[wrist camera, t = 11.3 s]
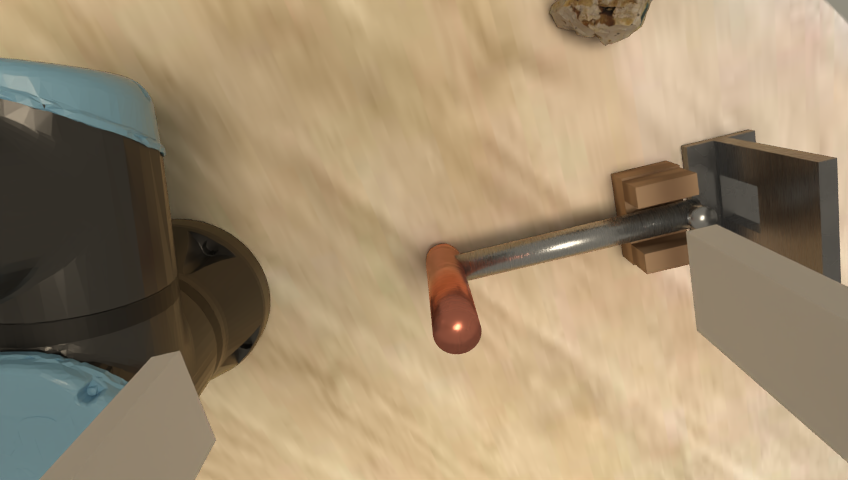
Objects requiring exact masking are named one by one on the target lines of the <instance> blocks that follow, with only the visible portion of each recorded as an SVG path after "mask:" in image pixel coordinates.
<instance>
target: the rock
mask: <svg viewBox="0 0 848 480" xmlns="http://www.w3.org/2000/svg"><path fill="white" fill-rule="evenodd" d="M651 1H652V0H557V1H556V3H554V4H553V5H552V7H551V10H550V14H551V15H552V16H553V19H554V22H555V23H556V25H557V27H558V28H563V29H566V30H575V32H576V34H577V35H579V36H583V37H594V36H597V37H598V38H599V39H600V41H601V42H602V43H603V44H604V45H608V44H613V43H615V42H618V41H620V40H622V39H625V38H627V37H629V36H630V35H631V34H632V33H633V32H635V31H636V30H638V29H639V28H640V27H642V25H643V23H644V20H645V17H646V14H647V11H648V9H649V6H650V3H651Z"/></svg>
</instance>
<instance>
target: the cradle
mask: <svg viewBox="0 0 848 480" xmlns="http://www.w3.org/2000/svg"><path fill="white" fill-rule="evenodd" d="M611 177H612V184H613V191H614V198H615V205H616V211H617V216H622V215H626V214H630V213H634V212H638V211H643V210H647V209H651V208H655V207H659V206H664V205H668V204H672V203H676V202H680V201H683V198H687V197H691V196H695V195H699V188H698V178H697V173H695V172H692V171H689V170H686V169H683V168H680V167H679V165H677V164H674V163H671V162H668V161H663V162H659V163H654V164H650V165H646V166H642V167H638V168H634V169H630V170H625V171H621V172H617V173H613V174H611ZM686 231H687V230H686V229H685V230H681V231H676V232H672V233H668V234H664V235H659V236H655V237H651V238H647V239H643V240H638V241H634V242H630V243H626V244H621V246H622V252H623V256H624V257H625V258H626V259H627V260H628V261H630V262H631V263H632V264H633V265H637V266H638V267H639V268H640V269H642V270H643V271H644V272H645V273H646V274H650V273H654V272H658V271H663V270H667V269H671V268H676V267H680V266H684V265H688V264H689V255H688V246H687V237H686Z"/></svg>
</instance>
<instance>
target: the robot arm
mask: <svg viewBox="0 0 848 480" xmlns="http://www.w3.org/2000/svg"><path fill="white" fill-rule="evenodd" d="M165 156H166V151H165V147H164V146H163V145H162V144H161V142H160V137H159V131H158V125H157V120H156V114H155V109H154V104H153V101H152V99H151V97H150V95H149V94H148V92H147V91H146V90H145V89H144V88H143V87H142V86H141V85H140V84H139V83H137V82H135V81H133V80H131V79H129V78H127V77H124V76H121V75H117V74H113V73H109V72H103V71H97V70H92V69H86V68H80V67H73V66H66V65H60V64H52V63H44V62H36V61H28V60H18V59H8V58H0V480H195V479H196V477H197V475H198V473H199V471H200V469H201V467H202V465H203V463H204V462H205V460H206V458H207V456H208V454H209V452H210V450H211V448H212V446H213V445H214V443H215V441H216V439H215V436H214V434H213V431H212V429H211V426H210V424H209V422H208V419H207V417H206V414H205V412H204V409H203V407H202V404H201V402H200V399H199V396H200V395H201V393H202V392H203V390H204V388H205V387H206V385H207V384H208V382H209V381H210V380H212V379H214V378H216V377H217V376H219V375H221V374H223V373H225V372H227V371H229V370H231V369H232V368H234V367H235V366H237V365H238V364H239V363H240V362H241V361H243V360H244V359H245V358H246V357H247V356H248V355H249V353H250V352H251V351H252V350H253V348H254V347H255V345H256V343H257V342H258V340H259V338H260V337H261V335H262V333H263V331H264V329H265V327H266V324H267V321H268V317H269V311H270V294H269V288H268V283H267V280H266V277H265V275H264V272H263V270H262V268H261V266H260V265H259V263H258V261H257V260H256V258H255V257H254V256H253V254H252V253H251V252H250V251H249V250H248V249H247V248H246V247H245V246H244V245H243V244H242V243H241V242H240V241H239V240H237V239H236V238H235V237H233V236H232V235H230V234H229V233H227V232H225V231H224V230H222V229H220V228H217V227H215V226H213V225H210V224H207V223H204V222H199V221H194V220H186V219H173V220H171V216H170V208H169V201H168V193H167V186H166V178H165V171H164V163H163V157H165ZM686 237H687V246H688V255H689V264H690V273H691V282H692V291H693V300H694V309H695V318H696V327H697V331H698V332H699V333H701V334H702V335H703V336H704V337H705V338H706V339H707V340H709V341H710V342H711V343H712V344H713V345H714V346H715V347H717V348H718V349H719V350H720V351H721V352H722V353H723V354H725V355H726V356H727V357H728V358H729V359H730V360H731V361H732V362H734V363H735V364H736V365H737V366H738V367H739V368H740V369H742V370H743V371H744V372H745V373H746V374H747V375H748V376H750V377H751V378H752V379H753V380H754V381H755V382H756V383H758V384H759V385H760V386H761V387H762V388H763V389H764V390H766V391H767V392H768V393H769V394H770V395H771V396H772V397H774V398H775V399H776V400H777V401H778V402H779V403H780V404H782V405H783V406H784V407H785V408H786V409H787V410H788V411H790V412H791V413H792V414H793V415H794V416H795V417H796V418H798V419H799V420H800V421H801V422H802V423H803V424H804V425H806V426H807V427H808V428H809V429H810V430H811V431H812V432H814V433H815V434H816V435H817V436H818V437H819V438H820V439H822V440H823V441H824V442H825V443H826V444H827V445H828V446H830V447H831V448H832V449H833V450H834V451H835V452H836V453H838V454H839V455H840V456H841V457H842V458H843V459H844V460H846V461H847V462H848V287H847V286H845V285H843V284H841V283H839V282H837V281H835V280H832V279H830V278H828V277H826V276H824V275H822V274H820V273H818V272H816V271H814V270H811V269H809V268H807V267H805V266H803V265H801V264H799V263H797V262H795V261H793V260H790V259H788V258H786V257H784V256H782V255H780V254H778V253H776V252H774V251H772V250H769V249H767V248H765V247H763V246H761V245H759V244H757V243H755V242H753V241H751V240H748V239H746V238H744V237H742V236H740V235H738V234H736V233H734V232H732V231H730V230H728V229H725V228H723V227H721V226H719V225H717V224H716V225H711V226H707V227H703V228H699V229H694V230H690V231H686Z"/></svg>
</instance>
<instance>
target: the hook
mask: <svg viewBox="0 0 848 480" xmlns="http://www.w3.org/2000/svg"><path fill="white" fill-rule="evenodd" d="M716 222H717V213H716V212H715V210H713V209H712V208H709V207H707V206H705V205H702V204H701V202H700V201H699V200H698V199H697V198H693V199H689V200H685V201H680V202H676V203H672V204H668V205H664V206H659V207H655V208H651V209H647V210H643V211H638V212H634V213H630V214H626V215H622V216H617V217H613V218H609V219H605V220H600V221H596V222H592V223H588V224H584V225H579V226H575V227H571V228H567V229H563V230H558V231H554V232H550V233H546V234H542V235H537V236H533V237H529V238H525V239H521V240H516V241H512V242H508V243H504V244H499V245H495V246H491V247H487V248H483V249H478V250H474V251H470V252H466V253H462V254H459V252H458V251H457V249H456V248H454V247H453V246H451V245H448V244H439V245H436V246H434V247H433V248H432V249H431V250H430V251H429V252H428V254H427V257H426V268H427V278H428V288H429V299H430V309H431V319H432V329H433V337H434V340H435V342H436V344H437V345H438V347H439V348H441V349H442V350H443V351H445V352H447V353H451V354H462V353H466V352H468V351H470V350H471V349H473V348H474V347H475V346H476V345H477V343H478V342H479V340H480V337H481V325H480V322H479V319H478V315H477V312H476V308H475V305H474V301H473V298H472V295H471V291H470V288H469V284H468V280H473V279H477V278H481V277H485V276H490V275H494V274H498V273H502V272H507V271H511V270H515V269H519V268H524V267H528V266H532V265H536V264H541V263H545V262H549V261H553V260H558V259H562V258H566V257H570V256H575V255H579V254H583V253H587V252H592V251H596V250H600V249H604V248H609V247H613V246H617V245H621V244H626V243H630V242H634V241H638V240H643V239H647V238H651V237H655V236H659V235H664V234H668V233H672V232H676V231H681V230H685V229H689V228H695V229H699V228H703V227H707V226H711V225H715V224H716Z"/></svg>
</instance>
